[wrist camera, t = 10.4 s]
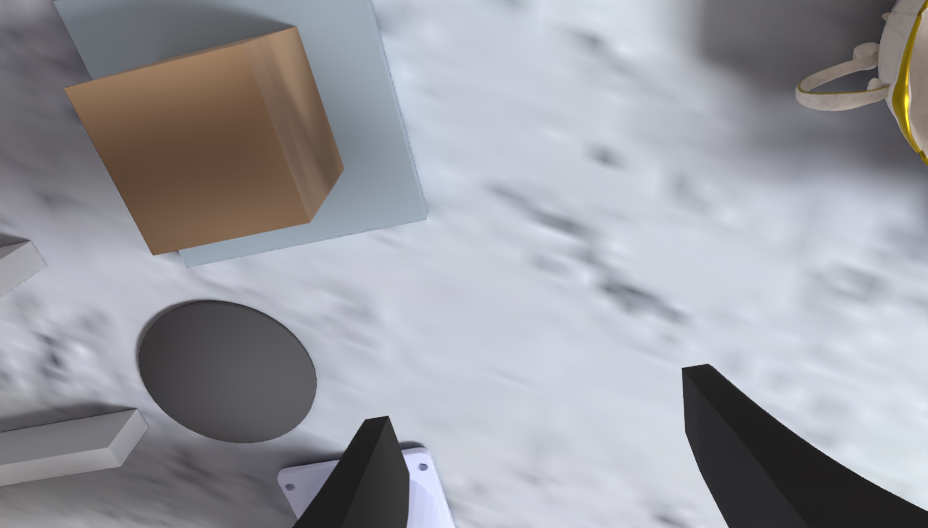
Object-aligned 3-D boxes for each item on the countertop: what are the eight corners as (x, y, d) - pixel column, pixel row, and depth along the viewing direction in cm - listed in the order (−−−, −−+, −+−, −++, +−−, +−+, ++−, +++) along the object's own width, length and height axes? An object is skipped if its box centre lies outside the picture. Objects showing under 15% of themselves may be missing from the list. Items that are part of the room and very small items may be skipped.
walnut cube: (344, 169, 21) (310, 222, 16) (218, 196, 21) (153, 255, 17) (296, 26, 19) (242, 43, 14) (157, 61, 19) (63, 88, 15)
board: (427, 211, 22) (426, 219, 22) (195, 258, 24) (186, 267, 23) (351, -74, 18) (346, -76, 17) (68, 0, 19) (52, 1, 18)
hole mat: (339, 425, 28) (337, 429, 27) (188, 449, 29) (185, 453, 28) (280, 286, 24) (278, 290, 24) (110, 319, 25) (106, 322, 25)
